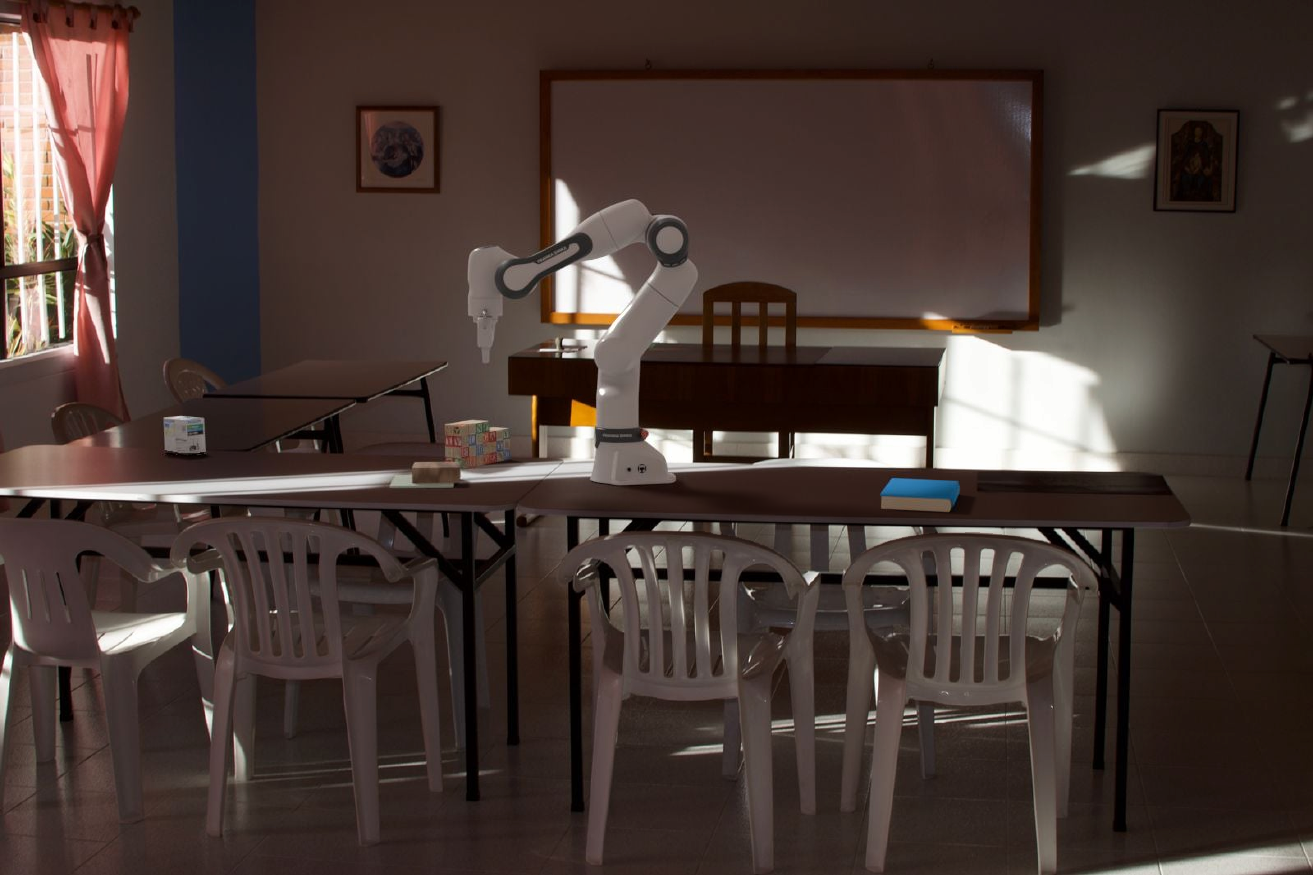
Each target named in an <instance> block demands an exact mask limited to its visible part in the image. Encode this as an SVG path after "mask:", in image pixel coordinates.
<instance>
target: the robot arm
mask: <svg viewBox="0 0 1313 875" xmlns="http://www.w3.org/2000/svg"><path fill="white" fill-rule="evenodd" d="M690 235H691V234H690V231H689V229H688V226H687V225H686V223H685V222H684V221H683V220H682V219H681V218H680V217H678V216H675V215H673V214H672V215H671V214H667V213H650V212H649V210H648V208H647V207H646V206H645V204H644V203H643V202H641V201H640V200H638V199H635V198H633V199H632V198H631V199H627V200H624V201H621V202H617V203H615V204H612V205H609V206H608V207H605V208H604V209H603V208H602V210H599V211H596V213H593V214H591V216H589V217H587V218H586V219H585V220H583V221H581V223H579V224H578V225H577V226H576V227H574V228H573V229H572V230H571V231H570V232H569V233H568V234H567V235H566V236H564V238H562V239H560V241H558V242H556V243H554V244H552V245H551V246H548V247H546V248H545V249H542V250H541V251H538V252H537V253H534V254H533V255H530V256H527V257H522V258H521V257H518V256H515V255H513V254H511V253H509V252H507V251H506V250H504V249H502V248H501V247H499V245H493V244H492V245H486V246H481V247H477V248H474V249H473V250H472V251H471V252H470V254H469V257H468V261H467V262H468V264H467V282H468V288H469V291H468V295H467V305H468V307H467V313H468V314H467V315H468V316H469V317H472V319H473V320H472V321H473V323H476V325H477V347H478V348H481V358H482V359H481V360H482V363H483V364H488V363H490V361H491V360H490V357H491V356H490V355H491V353H490V352H491V348H492V347H493V343H494V340H495V333H496V332H495V331H496V323H498V322H499V318H498V317H503V314H504V312H503V306H504V305H503V304H504V303H503V298H504V297H505V298H507V299H510V300H519V299H522V298H525V297H526V296H528V295H529V294H531V293H533V291H534V290H535V289H536V288H537V287H538V284H539V282H541V281H542V280H543V279H545V278H547V277H548V276H551V275H552V274H554V273H556V272H558V271H560V270H562V269H564V268H566V267H568V266H570V265H573V264H576V263H580V262H586V261H594V260H598V259H600V258H601V259H602V258H604V257H607V256H609V255H612V254H614V253H616V252H618V251H620V250H622V249H624V248H625V247H627V246H630V245H632V244H635V243H642V244H645V245H646V246H647V248H648V249H649V251H650V252H651V253H652V254H653V255H654V257H655V258H656V259H657V264H656V267H655V269H653V270H654V271H653V272H652V274H651V275H650V276H649V277H648V279H646V281H645V282H644V284H643V285H642V286H641V287H640V288H639V290H638V291H637V292H636V294H635V295H634V296H633V298H632V299H631V300H630V301H629V303H627V305H626V307H625V308H624V309H623V310H622V311H621V313H619V315H618V316H617V317H616V319H615V320H614V321H613V323H612V324H611V325H610V326H609V327H608V329H607V330H606V331H605V332H604V333H603V335H602V336H601V337H600V338H599V339H598V341H597V343H596V344H595V346H594V350H593V359H594V363H595V365H596V367H597V368H598V370H597V371H598V372H597V387H596V388H597V389H596V394H595V395H596V397H595V399H596V405H595V407H596V410H595V411H596V412H595V413H596V415H595V416H596V418H595V419H596V424H595V425H596V426H594V432H593V433H594V434H593V436H594V437H593V438H594V439H593V440H594V441H593V443H594V444H593V445H594V448H595V454H594V462H593V467H592V471H591V474H590V478H589V480H590V481H591V482H592V481H593V482H595V483H601V484H609V485H614V486H630V485H631V486H632V485H633V486H635V485H636V486H637V485H657V484H660V485H661V484H673V483H674V482H676V481H677V477H676V475H675V474H674V473H672V472H670V471H669V468H668V463H667V460H666V457H665V456H664V455H663V453H662V452H660V451H659V450H658V449H657V448H655V447H654V446H653V445H651V444H650V443H649V442H648V441H646V440H647V438H648V437H649V436H650V432H649V430H647V429H644V428H642V427H641V426H639V392H640V377H641V374H640V373H641V358H642V356H643V355H644V354H645V352H646V351H647V349H649V347H650V346H651V344H653V342H654V341H655V339H656V338H657V337H658V336H659V335H660V334H661V332H662V331H663V330H664V329H665V327H666V326H667V325H668V324H669V323H670V320H672V318H673V317H674V316H675V314H676V313H677V312H678V310H679V309H680V308H681V307H682V305H683V304H684V303H685V301H686V299H687V298H688V296H689V295H690V293H692V290H693V288H694V286H695V285H696V283H697V280H698V277H699V273H698V269H697V267H696V265H695V264H694V263H693V262H692V261H691V260H690V259H689V250H690V246H691V236H690ZM503 296H504V297H503Z"/></svg>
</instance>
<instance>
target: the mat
mask: <svg viewBox="0 0 1313 875" xmlns="http://www.w3.org/2000/svg"><path fill="white" fill-rule="evenodd" d="M454 485H455V483H412V474H395V475H394V477H393V478H392V481H391V482H390V485H389V489H427V488H428V489H443V488H444V489H446V488H449V489H450V488H451V489H452V488H454Z"/></svg>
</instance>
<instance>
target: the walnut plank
mask: <svg viewBox="0 0 1313 875" xmlns="http://www.w3.org/2000/svg"><path fill="white" fill-rule="evenodd" d="M461 471H462V469H461V462H445V461H416V462H414V463H413V464H412V467H411V475H412V483H454V484H459V483H460V481H461V476H462V475H461V474H462V472H461Z"/></svg>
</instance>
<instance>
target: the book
mask: <svg viewBox="0 0 1313 875" xmlns="http://www.w3.org/2000/svg"><path fill="white" fill-rule="evenodd" d="M960 492H961V487H960V483H959V481H958V480H940V479H938V480H937V479H923V478H922V479H920V478H918V479H917V478H900V477H899V478H896V477H895V478H894V477H893V478H891V479H890V480H889V482H888V483H887V484H886V486H885V487H884V488H883V490H882V491H881V493H880V494H879V495H880V497H881V502H880V503H881V506H880V508H881V510H882V509H884V510H906V511H922V512H925V511H926V512H942V513H949V512H951V511H952V509H953V508H954V506H955V503H956V501H957V500H958V496H959V494H960Z"/></svg>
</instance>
